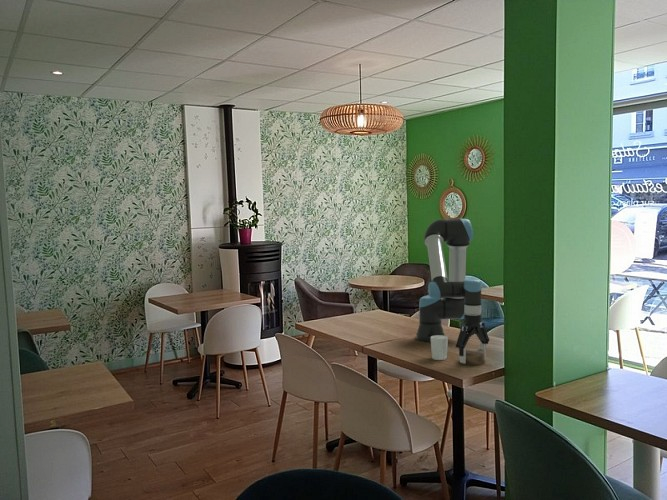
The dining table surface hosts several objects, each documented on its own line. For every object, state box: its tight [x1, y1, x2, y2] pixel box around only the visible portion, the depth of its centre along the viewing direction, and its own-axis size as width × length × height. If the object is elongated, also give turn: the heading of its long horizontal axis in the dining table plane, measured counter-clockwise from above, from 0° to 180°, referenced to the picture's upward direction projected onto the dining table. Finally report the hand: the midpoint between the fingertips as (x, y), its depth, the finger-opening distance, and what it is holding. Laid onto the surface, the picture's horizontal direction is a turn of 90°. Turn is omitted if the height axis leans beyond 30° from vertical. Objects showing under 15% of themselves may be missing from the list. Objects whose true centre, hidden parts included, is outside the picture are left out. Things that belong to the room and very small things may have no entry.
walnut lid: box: [462, 348, 486, 366], centre depth 251 cm, size 10×10×5 cm
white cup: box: [430, 335, 449, 361], centre depth 258 cm, size 8×8×10 cm
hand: (472, 360), depth 251 cm, fingers open, 13 cm apart
